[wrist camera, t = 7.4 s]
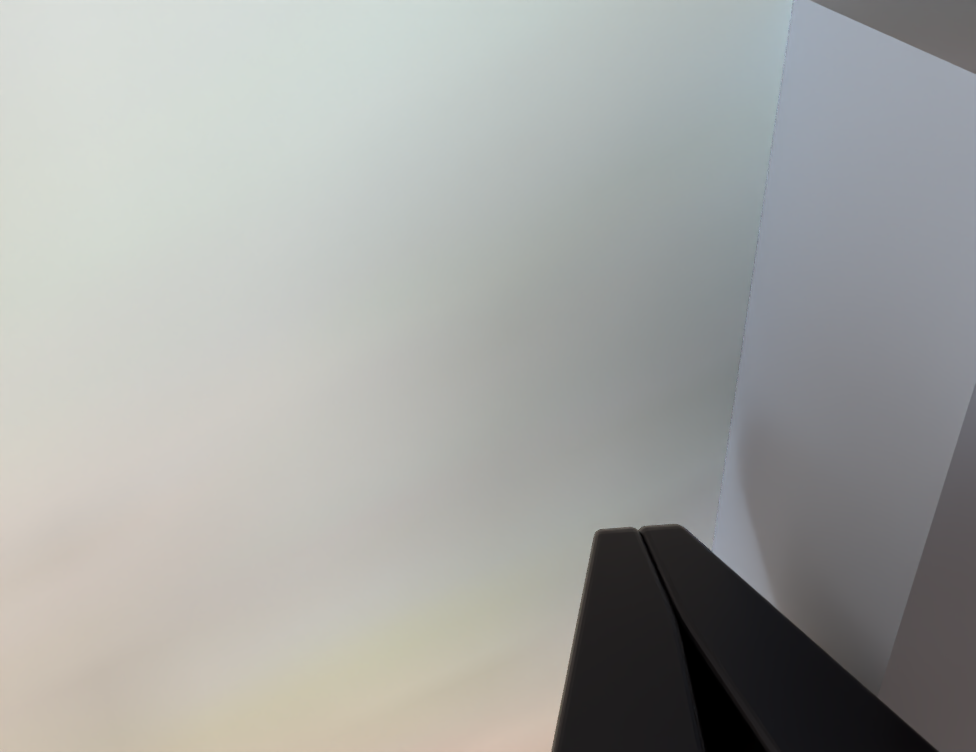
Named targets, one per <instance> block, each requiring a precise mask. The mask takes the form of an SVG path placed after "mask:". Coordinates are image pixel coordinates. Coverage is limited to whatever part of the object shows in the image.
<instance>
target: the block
mask: <svg viewBox="0 0 976 752" xmlns="http://www.w3.org/2000/svg"><path fill="white" fill-rule="evenodd" d="M712 552H713V553H714V554H715V555H716V556H717V557H718V558H720V559H721V560H722V561H723V562H724V563H725V564H726V565H728V566H729V567H730V568H731V569H732V570H733V571H734V572H735V573H737V574H738V575H739V576H740V577H741V578H742V579H743V580H745V581H746V582H747V583H748V584H749V585H750V586H751V587H753V588H754V589H755V590H756V591H757V592H758V593H759V594H761V595H762V596H763V597H764V598H765V599H766V600H767V601H768V602H770V603H771V604H772V605H773V606H774V607H775V608H776V609H778V610H779V611H780V612H781V613H782V614H783V615H784V616H786V617H787V618H788V619H789V620H790V621H791V622H792V623H793V624H795V625H796V626H797V627H798V628H799V629H800V630H801V631H803V632H804V633H805V634H806V635H807V636H808V637H809V638H811V639H812V640H813V641H814V642H815V643H816V644H817V645H818V646H820V647H821V648H822V649H823V650H824V651H825V652H826V653H828V654H829V655H830V656H831V657H832V658H833V659H834V660H836V661H837V662H838V663H839V664H840V665H841V666H842V667H843V668H845V669H846V670H847V671H848V672H849V673H850V674H851V675H853V676H854V677H855V678H856V679H857V680H858V681H859V682H861V683H862V684H863V685H864V686H865V687H866V688H867V689H868V690H870V691H871V692H872V693H873V694H874V695H875V696H876V697H878V698H879V699H880V700H881V701H882V702H883V703H884V704H886V705H887V706H888V707H889V708H890V709H891V710H892V711H893V712H895V713H896V714H897V715H898V716H899V717H900V718H901V719H903V720H904V721H905V722H906V723H907V724H908V725H909V726H911V727H912V728H913V729H914V730H915V731H916V732H917V733H918V734H920V735H921V736H922V737H923V738H924V739H925V740H926V741H928V742H929V743H930V744H931V745H932V746H933V747H934V748H936V749H937V750H938V751H939V752H976V0H793V6H792V12H791V19H790V26H789V33H788V39H787V46H786V53H785V60H784V66H783V73H782V80H781V87H780V94H779V100H778V107H777V114H776V121H775V127H774V134H773V141H772V148H771V154H770V161H769V168H768V175H767V181H766V188H765V195H764V202H763V208H762V215H761V222H760V229H759V235H758V242H757V249H756V256H755V262H754V269H753V276H752V283H751V289H750V296H749V303H748V310H747V316H746V323H745V330H744V337H743V344H742V350H741V357H740V364H739V371H738V377H737V384H736V391H735V398H734V404H733V411H732V418H731V425H730V431H729V438H728V445H727V452H726V458H725V465H724V472H723V479H722V485H721V492H720V499H719V506H718V512H717V519H716V526H715V533H714V539H713V546H712Z"/></svg>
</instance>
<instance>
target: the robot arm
mask: <svg viewBox="0 0 976 752" xmlns="http://www.w3.org/2000/svg"><path fill="white" fill-rule="evenodd" d="M551 752H939V751H938V750H937V749H936V748H934V747H933V746H932V745H931V744H930V743H929V742H928V741H926V740H925V739H924V738H923V737H922V736H921V735H920V734H918V733H917V732H916V731H915V730H914V729H913V728H912V727H911V726H909V725H908V724H907V723H906V722H905V721H904V720H903V719H901V718H900V717H899V716H898V715H897V714H896V713H895V712H893V711H892V710H891V709H890V708H889V707H888V706H887V705H886V704H884V703H883V702H882V701H881V700H880V699H879V698H878V697H876V696H875V695H874V694H873V693H872V692H871V691H870V690H868V689H867V688H866V687H865V686H864V685H863V684H862V683H861V682H859V681H858V680H857V679H856V678H855V677H854V676H853V675H851V674H850V673H849V672H848V671H847V670H846V669H845V668H843V667H842V666H841V665H840V664H839V663H838V662H837V661H836V660H834V659H833V658H832V657H831V656H830V655H829V654H828V653H826V652H825V651H824V650H823V649H822V648H821V647H820V646H818V645H817V644H816V643H815V642H814V641H813V640H812V639H811V638H809V637H808V636H807V635H806V634H805V633H804V632H803V631H801V630H800V629H799V628H798V627H797V626H796V625H795V624H793V623H792V622H791V621H790V620H789V619H788V618H787V617H786V616H784V615H783V614H782V613H781V612H780V611H779V610H778V609H776V608H775V607H774V606H773V605H772V604H771V603H770V602H768V601H767V600H766V599H765V598H764V597H763V596H762V595H761V594H759V593H758V592H757V591H756V590H755V589H754V588H753V587H751V586H750V585H749V584H748V583H747V582H746V581H745V580H743V579H742V578H741V577H740V576H739V575H738V574H737V573H735V572H734V571H733V570H732V569H731V568H730V567H729V566H728V565H726V564H725V563H724V562H723V561H722V560H721V559H720V558H718V557H717V556H716V555H715V554H714V553H713V552H712V551H710V550H709V549H708V548H707V547H706V546H705V545H704V544H703V543H701V542H700V541H699V540H698V539H697V538H696V537H695V536H693V535H692V534H691V533H690V532H689V531H688V530H687V529H685V528H684V527H682V526H680V525H677V524H667V525H652V526H643V527H641V528H640V529H639V530H637V529H635V528H633V527H624V528H610V529H600V530H598V531H596V533H595V535H594V538H593V543H592V548H591V553H590V558H589V563H588V568H587V573H586V579H585V584H584V589H583V594H582V599H581V604H580V609H579V614H578V619H577V624H576V629H575V634H574V639H573V644H572V649H571V654H570V660H569V665H568V670H567V675H566V680H565V685H564V690H563V695H562V700H561V705H560V710H559V715H558V720H557V725H556V730H555V735H554V740H553V746H552V751H551Z"/></svg>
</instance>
